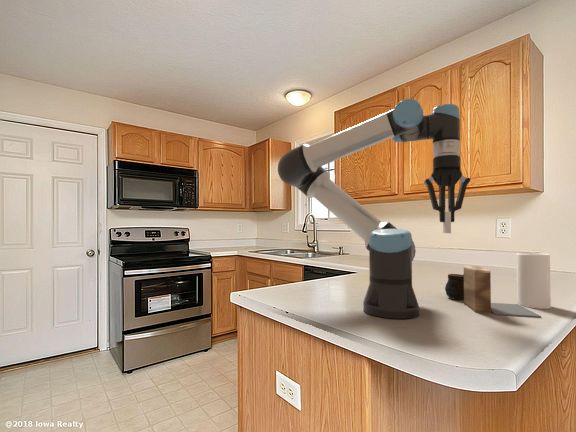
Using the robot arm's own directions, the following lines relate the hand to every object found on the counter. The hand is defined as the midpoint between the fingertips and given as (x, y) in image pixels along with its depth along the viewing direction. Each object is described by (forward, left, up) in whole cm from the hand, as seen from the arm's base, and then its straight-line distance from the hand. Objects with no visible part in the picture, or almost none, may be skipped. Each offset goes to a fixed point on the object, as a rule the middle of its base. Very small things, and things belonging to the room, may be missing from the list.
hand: (447, 233), depth 97 cm
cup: (+26, +8, -23) cm, 36 cm away
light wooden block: (+8, 0, -22) cm, 24 cm away
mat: (+16, 0, -22) cm, 27 cm away
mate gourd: (+6, +12, -23) cm, 26 cm away
